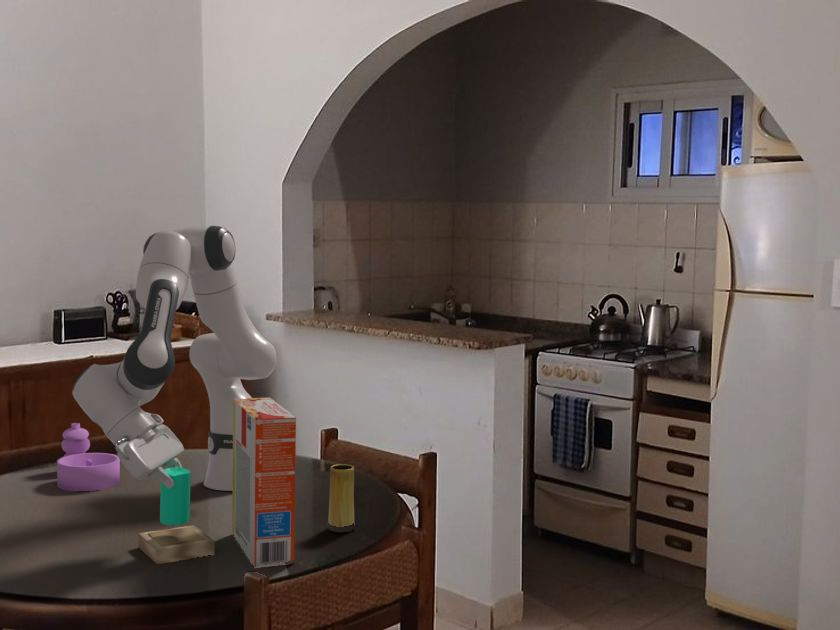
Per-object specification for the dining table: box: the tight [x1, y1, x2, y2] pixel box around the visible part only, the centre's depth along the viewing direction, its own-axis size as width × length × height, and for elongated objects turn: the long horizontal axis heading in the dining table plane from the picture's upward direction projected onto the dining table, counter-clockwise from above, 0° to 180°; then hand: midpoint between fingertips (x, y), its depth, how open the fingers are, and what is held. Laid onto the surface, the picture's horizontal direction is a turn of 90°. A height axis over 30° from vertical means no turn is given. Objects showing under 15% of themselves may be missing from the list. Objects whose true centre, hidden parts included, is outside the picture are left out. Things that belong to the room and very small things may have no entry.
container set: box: [56, 422, 121, 492], centre depth 264 cm, size 25×15×13 cm, turn 32°
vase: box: [327, 463, 355, 527], centre depth 227 cm, size 6×6×14 cm
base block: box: [138, 524, 215, 565], centre depth 210 cm, size 12×12×3 cm
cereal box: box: [231, 397, 297, 567], centre depth 211 cm, size 23×8×30 cm, turn 21°
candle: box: [159, 467, 192, 526], centre depth 209 cm, size 6×6×12 cm
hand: (178, 481), depth 209 cm, fingers closed on candle, 5 cm apart
